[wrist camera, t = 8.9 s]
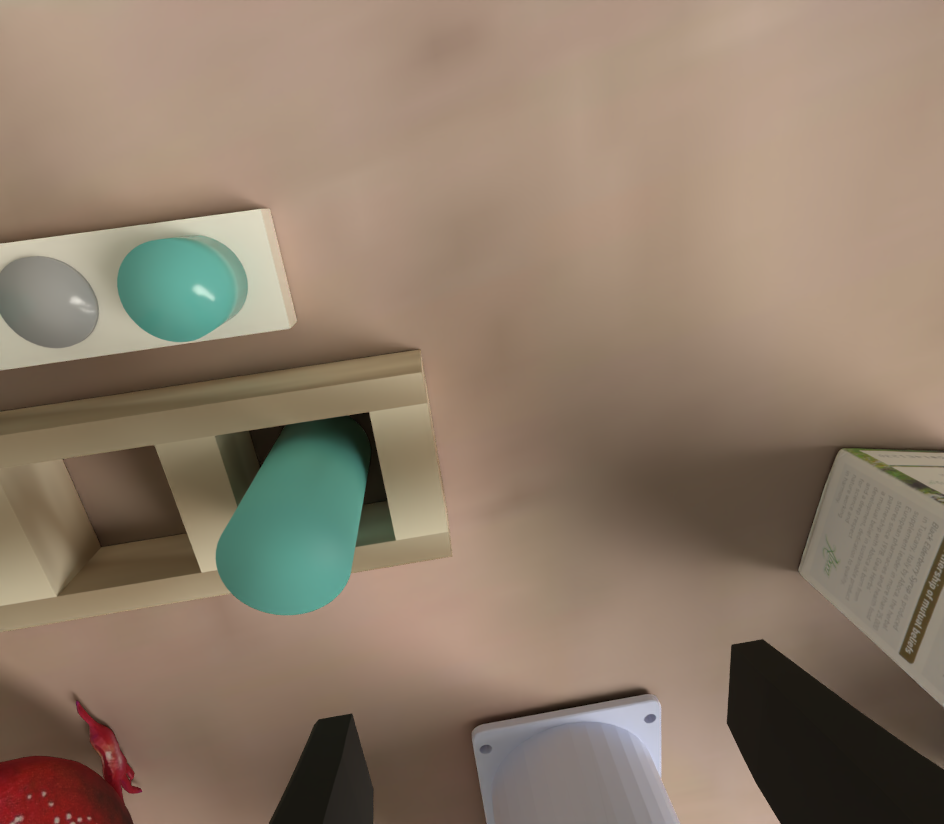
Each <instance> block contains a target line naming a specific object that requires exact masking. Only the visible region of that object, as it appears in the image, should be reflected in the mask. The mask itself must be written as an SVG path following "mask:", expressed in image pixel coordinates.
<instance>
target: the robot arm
mask: <svg viewBox="0 0 944 824" xmlns="http://www.w3.org/2000/svg"><path fill="white" fill-rule="evenodd" d="M727 724H728V726H729V729H730V731H731V733H732V735H733V737H734V739H735V741H736V743H737V745H738V748H739V750H740V752H741V754H742V756H743V758H744V760H745V762H746V764H747V766H748V768H749V770H750V772H751V774H752V776H753V778H754V780H755V782H756V784H757V785H758V787H759V789H760V790H761V792H762V794H763V795H764V797H765V799H766V800H767V802H768V803H769V805H770V807H771V808H772V810H773V812H774V813H775V815H776V817H777V818H778V820H779V821H780V823H781V824H944V770H943V769H942V768H940V767H939V766H937V765H936V764H934V763H933V762H931V761H930V760H928V759H927V758H925V757H924V756H922V755H921V754H919V753H918V752H916V751H915V750H913V749H912V748H911V747H909V746H908V745H906V744H905V743H903V742H902V741H900V740H899V739H897V738H896V737H895V736H893V735H892V734H890V733H889V732H888V731H886V730H885V729H883V728H882V727H881V726H879V725H878V724H876V723H875V722H874V721H872V720H871V719H869V718H868V717H867V716H865V715H864V714H862V713H861V712H860V711H858V710H857V709H855V708H854V707H853V706H851V705H850V704H849V703H847V702H846V701H844V700H843V699H842V698H840V697H839V696H838V695H836V694H835V693H834V692H832V691H831V690H830V689H828V688H827V687H826V686H824V685H823V684H822V683H820V682H819V681H818V680H816V679H815V678H814V677H812V676H811V675H810V674H808V673H807V672H806V671H804V670H803V669H802V668H800V667H799V666H798V665H796V664H795V663H794V662H792V661H791V660H790V659H788V658H787V657H786V656H784V655H783V654H782V653H780V652H779V651H778V650H776V649H775V648H774V647H772V646H771V645H770V644H768V643H767V642H766V641H764V640H763V639H762V640H756V641H751V642H745V643H739V644H734V645H732V646H731V663H730V680H729V697H728V713H727ZM472 743H473V749H474V755H475V760H476V766H477V772H478V777H479V783H480V789H481V794H482V800H483V806H484V811H485V817H486V823H487V824H680V822H679V819H678V817H677V815H676V813H675V810H674V808H673V806H672V803H671V801H670V799H669V796H668V794H667V792H666V789H665V787H664V785H663V783H662V780H661V705H660V702H659V700H658V698H657V697H656V696H655V695H652V694H644V695H639V696H634V697H628V698H623V699H617V700H612V701H606V702H601V703H596V704H590V705H585V706H579V707H574V708H568V709H563V710H558V711H552V712H547V713H541V714H536V715H530V716H525V717H520V718H514V719H509V720H503V721H498V722H492V723H487V724H482V725H479V726H477V727H476V728H474V729H473V731H472ZM269 824H373V786H372V783H371V779H370V776H369V772H368V768H367V765H366V761H365V758H364V754H363V751H362V747H361V744H360V740H359V736H358V733H357V729H356V726H355V722H354V719H353V715H352V714H347V715H341V716H336V717H330V718H325V719H319V720H318V721H317V722H316V724H315V725H314V727H313V729H312V731H311V734H310V736H309V739H308V741H307V743H306V746H305V748H304V750H303V752H302V755H301V757H300V759H299V761H298V764H297V766H296V768H295V770H294V772H293V775H292V777H291V779H290V781H289V783H288V785H287V787H286V789H285V792H284V794H283V796H282V798H281V800H280V802H279V804H278V806H277V808H276V810H275V812H274V814H273V816H272V818H271V820H270V822H269Z"/></svg>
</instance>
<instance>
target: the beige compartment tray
mask: <svg viewBox="0 0 944 824" xmlns="http://www.w3.org/2000/svg"><path fill="white" fill-rule="evenodd" d="M366 412H369V414H370V418H371V423H372V428H373V433H374V438H375V442H376V447H377V452H378V457H379V462H380V466H381V471H382V476H383V481H384V486H385V490H386V495H387V500H388V501H384V502H377V503H371V504H365V505H362V511H361V517H360V523H359V528H358V534H357V540H356V546H355V552H354V557H353V563H352V569H351V573H356V572H362V571H368V570H374V569H380V568H386V567H392V566H398V565H404V564H410V563H416V562H422V561H428V560H434V559H440V558H446V557H452V549H451V540H450V531H449V523H448V514H447V508H446V502H445V496H444V490H443V484H442V477H441V471H440V465H439V459H438V453H437V447H436V441H435V435H434V429H433V423H432V417H431V411H430V405H429V398H428V392H427V386H426V380H425V374H424V368H423V362H422V356H421V350H420V349H419V350H413V351H406V352H399V353H393V354H386V355H379V356H372V357H366V358H359V359H352V360H345V361H339V362H332V363H325V364H318V365H312V366H305V367H298V368H292V369H285V370H278V371H271V372H265V373H258V374H251V375H244V376H238V377H231V378H224V379H218V380H211V381H204V382H197V383H191V384H184V385H177V386H170V387H164V388H157V389H150V390H143V391H137V392H130V393H123V394H117V395H110V396H103V397H96V398H90V399H83V400H76V401H69V402H63V403H56V404H49V405H43V406H36V407H29V408H22V409H16V410H9V411H2V412H0V632H5V631H11V630H17V629H23V628H29V627H35V626H41V625H47V624H53V623H59V622H65V621H71V620H77V619H83V618H89V617H95V616H101V615H107V614H112V613H118V612H124V611H130V610H136V609H142V608H148V607H154V606H160V605H166V604H172V603H178V602H184V601H190V600H196V599H202V598H208V597H214V596H220V595H225V594H231V592H230V591H229V590H228V589H227V588H226V586H225V585H224V583H223V582H222V580H221V578H220V576H219V573H218V570H217V566H216V559H215V558H216V548H217V544H218V541H219V538H220V536H221V534H222V533H223V531H224V529H225V528H226V526H227V524H228V523H229V521H230V519H231V517H232V516H233V514H234V512H235V511H236V509H237V507H238V505H239V504H240V502H241V500H242V499H243V497H244V495H245V493H246V492H247V490H248V488H249V487H250V485H251V483H252V482H253V480H254V478H255V476H256V475H257V473H258V471H259V470H260V466H259V463H258V460H257V456H256V453H255V450H254V446H253V443H252V440H251V436H250V433H249V430H255V429H262V428H268V427H275V426H281V425H288V424H294V423H301V422H307V421H314V420H320V419H327V418H333V417H340V416H346V415H353V414H359V413H366ZM151 445H155V448H156V451H157V453H158V456H159V459H160V461H161V464H162V467H163V470H164V472H165V475H166V478H167V480H168V483H169V486H170V488H171V491H172V494H173V497H174V499H175V502H176V505H177V507H178V510H179V513H180V516H181V518H182V521H183V524H184V526H185V529H186V532H187V533H186V534H180V535H174V536H167V537H161V538H155V539H149V540H143V541H137V542H130V543H124V544H118V545H112V546H106V547H101V546H100V543H99V541H98V539H97V537H96V534H95V532H94V530H93V528H92V525H91V523H90V521H89V518H88V516H87V514H86V512H85V509H84V507H83V505H82V503H81V500H80V498H79V496H78V494H77V491H76V489H75V487H74V484H73V482H72V480H71V478H70V475H69V473H68V471H67V469H66V466H65V464H64V462H63V460H62V459H66V458H73V457H80V456H86V455H93V454H99V453H106V452H112V451H119V450H125V449H132V448H138V447H145V446H151Z"/></svg>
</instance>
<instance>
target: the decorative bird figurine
mask: <svg viewBox="0 0 944 824" xmlns="http://www.w3.org/2000/svg"><path fill="white" fill-rule="evenodd" d="M76 705H77V711H78V713H79V715H80V716H81V717H82V718H83V719H84V720H85V721H86V722H87V723H88V725H89V729H90V743H91V744H92V746H93V748H94V749H95V750H96V751H97V753H98V754H99V755H100V757H101V761H102V766H103V776H104V779H105V780H104V779H103V778H102V777H101V776H100V775H99V774H97V773H96V772H95V771H93V770H92V769H90V768H89V767H87V766H85V765H83V764H81V763H79V762H76V761H72V760H67V759H62V758H55V757H49V756H30V757H23V758H18V759H14V760H10V761H5V762H0V824H133V821H132V818H131V816H130V813H129V811H128V809H127V808H126V806H125V803H124V800H123V794H122V788H121V786H122V787H123V788H124V789H125V790H126V791H127V792H128V793H132V794H136V793H140V792H142V790H141V788H139V787H135V786H132V785H131V780H132V779H133V778H134V772H133V770H132V769H131V768H130V766H129V765H128V764H127V760H126V758H125V756H124V755H123V754H122V752H121V751H120V748H119V744H118V741H117V740H116V738H115V735H114V733H113V732H112V730H111V729H109V728H108V727H107V726H104V725H102V724H99V723H97V722H96V721H95V720H94V719H93V718H92V717H90V715H89V714H88V713H87V712H86V711H85V710H84V709H83V707H82V706H81V705H80V703H79V702H78V701H76ZM126 773H127V775H128V777H129V778H130V780H129V779H128V777H127V775H126Z"/></svg>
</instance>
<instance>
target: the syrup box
mask: <svg viewBox="0 0 944 824" xmlns="http://www.w3.org/2000/svg"><path fill="white" fill-rule="evenodd" d="M798 571H799V572H800V574H801V576H802V577H803V578H804V579H805V580H806V581H807V582H809V583H810V584H811V585H812V586H813V587H814V588H815V589H816V590H817V591H818V592H819V593H820V594H822V595H823V596H824V597H825V598H826V599H827V600H828V601H830V602H831V603H832V604H833V605H834V606H835V607H836V608H837V609H838V610H839V611H840V612H841V613H842V614H843V615H845V616H846V617H847V618H848V619H849V620H850V621H851V622H852V623H853V624H854V625H855V626H856V627H858V628H859V629H860V630H861V631H862V632H863V633H864V634H865V635H866V636H867V637H868V638H869V639H870V640H872V641H873V642H874V643H875V644H876V645H877V646H878V647H879V648H880V649H881V650H882V651H883V652H884V653H886V654H887V655H888V656H889V657H890V658H891V659H892V660H893V661H894V662H895V663H896V664H897V665H898V666H900V667H901V668H902V669H903V670H904V671H905V672H906V673H907V674H908V675H909V676H910V677H911V678H912V679H914V680H915V681H916V682H917V683H918V684H919V685H920V686H921V687H922V688H923V689H924V690H925V691H926V692H927V693H929V694H930V695H931V696H932V697H933V698H934V699H935V700H936V701H937V702H938V703H939V704H940V705H941V706H943V707H944V451H936V450H934V451H931V450H928V451H925V450H892V449H862V448H843V449H841V450H840V451H839V452H838V454H837V456H836V458H835V461H834V463H833V466H832V469H831V471H830V474H829V476H828V479H827V481H826V484H825V487H824V490H823V493H822V496H821V499H820V502H819V505H818V508H817V511H816V515H815V518H814V521H813V524H812V527H811V530H810V533H809V537H808V540H807V543H806V547H805V549H804V552H803V556H802V559H801V563H800V566H799V569H798Z"/></svg>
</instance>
